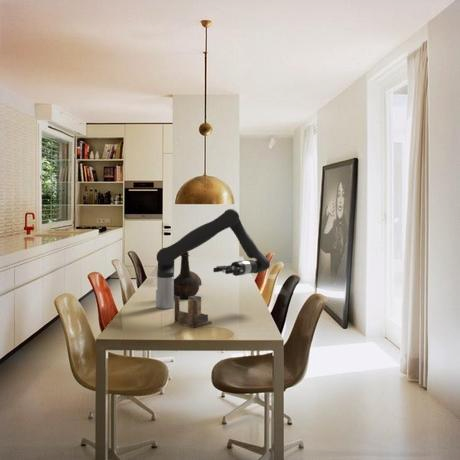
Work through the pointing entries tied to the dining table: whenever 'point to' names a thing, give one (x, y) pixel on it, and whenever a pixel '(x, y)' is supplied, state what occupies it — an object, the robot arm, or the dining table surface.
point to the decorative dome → (195, 277)
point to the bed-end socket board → (190, 316)
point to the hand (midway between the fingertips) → (219, 271)
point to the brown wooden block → (190, 304)
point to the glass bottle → (185, 280)
